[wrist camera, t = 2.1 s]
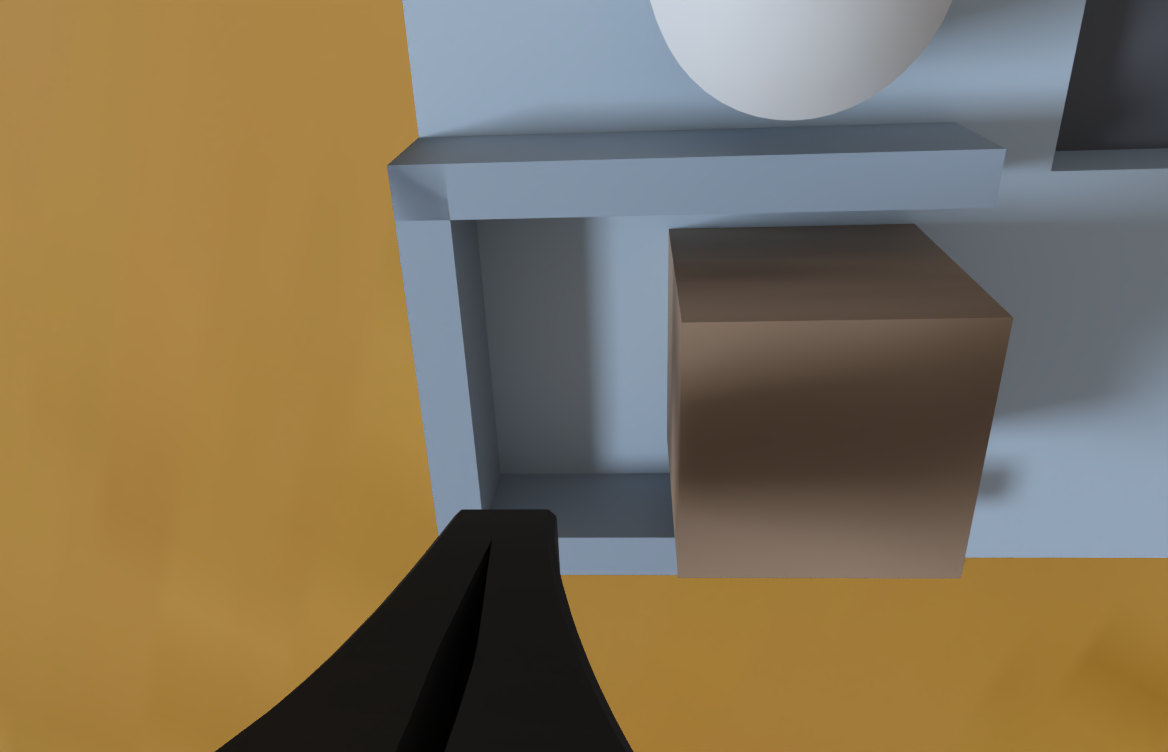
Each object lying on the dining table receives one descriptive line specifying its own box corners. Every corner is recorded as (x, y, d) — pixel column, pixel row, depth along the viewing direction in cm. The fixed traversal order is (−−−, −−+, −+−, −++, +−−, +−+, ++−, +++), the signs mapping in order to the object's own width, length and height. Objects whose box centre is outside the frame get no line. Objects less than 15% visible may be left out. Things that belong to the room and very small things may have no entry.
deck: (1396, 508, 22) (1568, 632, 18) (481, 510, 23) (451, 626, 19) (1782, -313, 15) (2224, -414, 11) (399, -237, 16) (322, -300, 12)
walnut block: (885, 435, 20) (960, 578, 15) (667, 437, 20) (677, 577, 15) (914, 223, 17) (1013, 317, 13) (668, 228, 18) (682, 323, 13)
